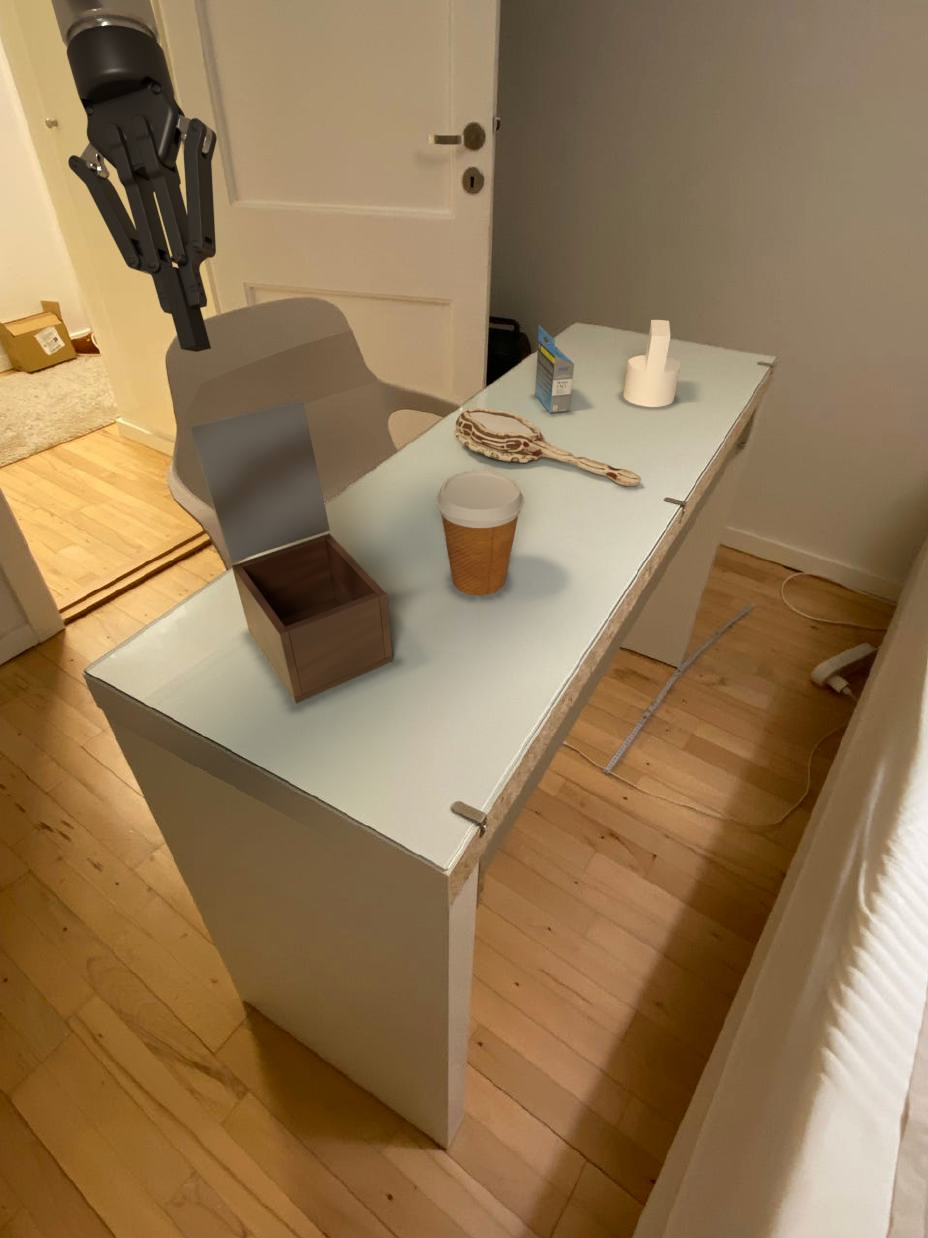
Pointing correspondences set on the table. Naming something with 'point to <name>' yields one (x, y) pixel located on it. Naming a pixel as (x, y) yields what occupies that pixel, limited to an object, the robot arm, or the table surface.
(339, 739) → the table surface
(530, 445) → the hand mirror
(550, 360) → the ink cartridge box
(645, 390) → the cylinder with rectangular tab
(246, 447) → the lid
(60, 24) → the robot arm
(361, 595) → the box
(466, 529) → the disposable coffee cup
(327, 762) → the table surface
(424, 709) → the table surface
